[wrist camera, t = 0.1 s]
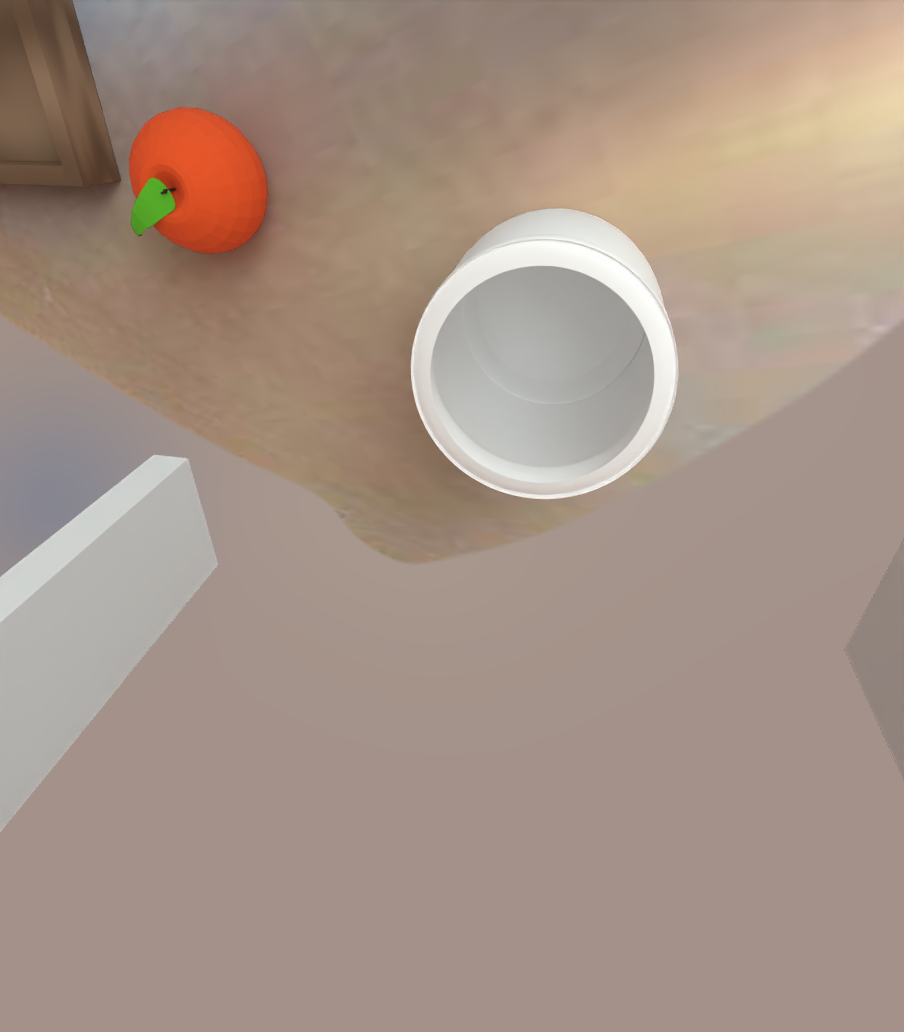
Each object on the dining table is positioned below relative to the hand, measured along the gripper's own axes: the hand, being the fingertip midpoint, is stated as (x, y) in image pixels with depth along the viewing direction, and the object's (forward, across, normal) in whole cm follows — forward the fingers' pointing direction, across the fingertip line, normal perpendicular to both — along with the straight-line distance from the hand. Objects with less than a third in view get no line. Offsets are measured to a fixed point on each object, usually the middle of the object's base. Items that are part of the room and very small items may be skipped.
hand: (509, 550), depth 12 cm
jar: (+28, 0, -2) cm, 28 cm away
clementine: (+28, -20, +3) cm, 35 cm away
